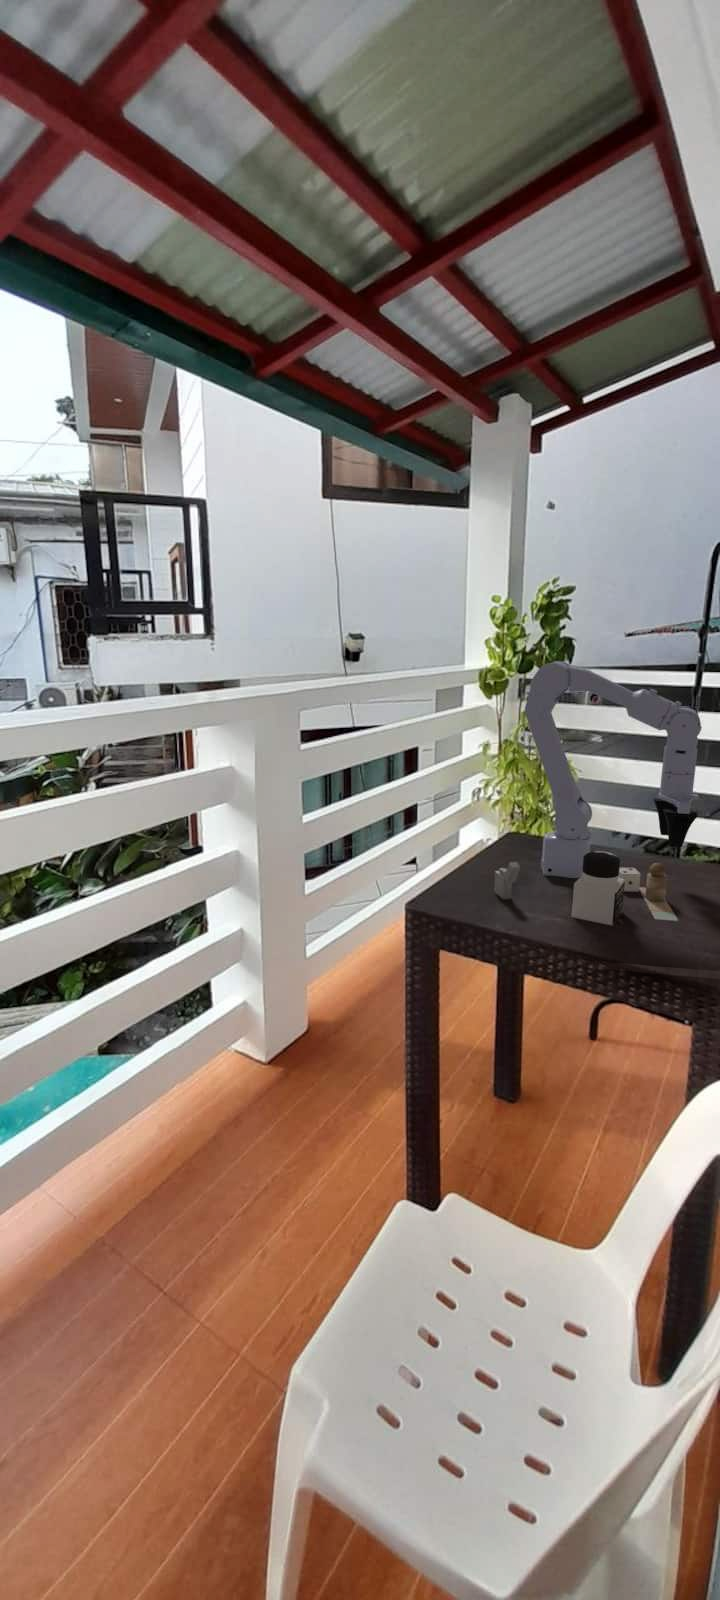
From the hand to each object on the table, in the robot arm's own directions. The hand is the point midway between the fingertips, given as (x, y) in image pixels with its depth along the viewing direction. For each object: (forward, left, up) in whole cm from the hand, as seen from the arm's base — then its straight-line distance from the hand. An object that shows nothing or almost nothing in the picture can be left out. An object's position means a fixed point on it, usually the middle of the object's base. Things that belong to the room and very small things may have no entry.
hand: (670, 840), depth 136 cm
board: (-6, -11, -10) cm, 16 cm away
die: (-8, -4, -9) cm, 13 cm away
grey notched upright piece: (-31, -11, -10) cm, 34 cm away
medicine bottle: (-15, -18, -10) cm, 26 cm away
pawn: (-4, -9, -9) cm, 13 cm away
